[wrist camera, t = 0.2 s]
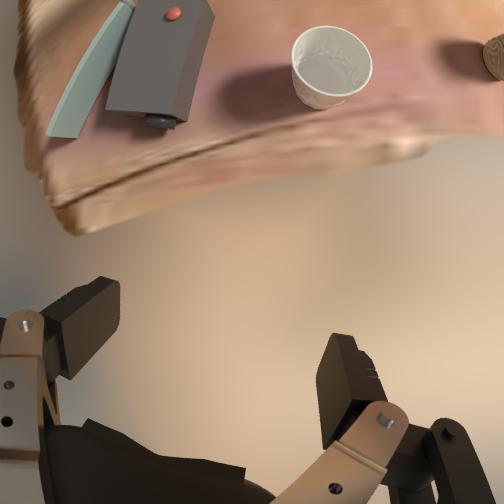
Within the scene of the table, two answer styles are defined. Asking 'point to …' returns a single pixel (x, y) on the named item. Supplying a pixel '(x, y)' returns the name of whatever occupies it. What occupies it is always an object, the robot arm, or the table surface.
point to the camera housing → (161, 61)
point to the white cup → (329, 66)
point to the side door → (91, 74)
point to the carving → (495, 56)
